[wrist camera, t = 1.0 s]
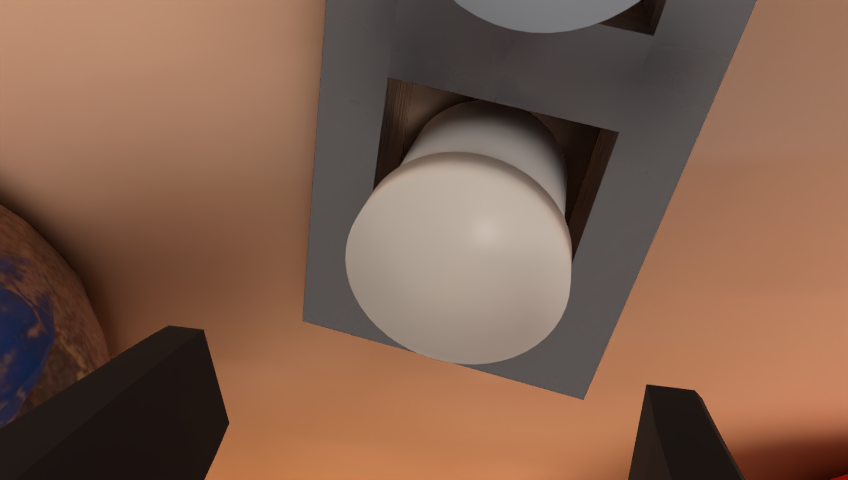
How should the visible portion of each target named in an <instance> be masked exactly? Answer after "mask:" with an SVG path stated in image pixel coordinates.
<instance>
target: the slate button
mask: <svg viewBox="0 0 848 480" xmlns="http://www.w3.org/2000/svg"><path fill="white" fill-rule="evenodd" d="M454 1H455V2H456V3H458V4H459V5H460V6H461V7H463V8H464V9H466V10H468V11H469V12H471V13H472V14H474V15H476V16H477V17H480V18H482V19H484V20H486V21H488V22H491V23H493V24H495V25H499V26H502V27H505V28H509V29H512V30H518V31H525V32H531V33H554V32H564V31H571V30H575V29H579V28H584V27H588V26H591V25H594V24H596V23H599V22H602V21H604V20H607V19H609V18H611V17H613V16H615V15H617V14H619V13H621V12H623V11H625V10H627V9H628V8H630V7H631V6H633V5H634V4H636V3H637V2H639V1H640V0H454Z"/></svg>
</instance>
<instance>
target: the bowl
mask: <svg viewBox="0 0 848 480" xmlns="http://www.w3.org/2000/svg"><path fill="white" fill-rule="evenodd" d="M109 361H110V356H109V352H108V347H107V343H106V340H105V337H104V333H103V330H102V327H101V325H100V323H99V321H98V319H97V317H96V315H95V313H94V311H93V309H92V307H91V305H90V302H89V299H88V297H87V294H86V291H85V289H84V286H83V283H82V280H81V278H80V277H79V276H78V275H77V274H76V273H75V271H74V270H73V269H72V268H71V267H70V266H69V264H68V263H67V262H66V261H65V260H64V259H63V257H62V256H61V255H60V254H59V253H58V252H57V250H56V249H55V248H54V247H53V246H51V245H50V244H49V243H48V242H47V241H46V240H45V239H44V238H43V237H42V236H41V235H40V234H39V233H38V232H37V231H36V230H35V229H33V228H32V227H31V226H30V225H29V224H28V223H27V222H26V221H25V220H24V219H22V218H21V217H19V216H17V215H16V214H14V213H13V212H11V211H10V210H8V209H7V208H5V207H4V206H2V205H1V204H0V428H2V427H3V426H5V425H7V424H8V423H10V422H12V421H14V420H15V419H17V418H19V417H20V416H22V415H24V414H26V413H27V412H29V411H30V410H32V409H34V408H35V407H37V406H38V405H40V404H42V403H43V402H45V401H46V400H48V399H50V398H51V397H53V396H55V395H56V394H58V393H59V392H61V391H63V390H64V389H66V388H67V387H69V386H71V385H72V384H74V383H75V382H77V381H79V380H80V379H82V378H83V377H85V376H87V375H88V374H90V373H91V372H93V371H94V370H96V369H98V368H99V367H101V366H102V365H104V364H106V363H107V362H109Z"/></svg>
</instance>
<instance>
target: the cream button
mask: <svg viewBox="0 0 848 480" xmlns="http://www.w3.org/2000/svg"><path fill="white" fill-rule="evenodd" d="M567 180H568V175H567V165H566V160H565V156H564V154H563V151H562V148H561V146H560V144H559V143H558V141H557V139H556V138H555V136H554V135H553V133H552V132H551V131H550V130H549V129H548V127H547V126H546V125H545V124H544V123H543V122H541V121H540V120H539V119H538V118H536V117H535V116H534V115H532V114H531V113H529V112H527V111H526V110H524V109H520V108H516V107H511V106H507V105H503V104H499V103H495V102H491V101H486V100H477V101H469V102H464V103H460V104H457V105H455V106H452V107H450V108H448V109H446V110H444V111H442V112H440V113H439V114H438V115H436V116H435V117H433V118H432V119H431V120H430V121H429V122H428V123H427V124H426V125H425V126H424V128H423V129H422V130H421V132H420V133H419V135H418V136H417V138H416V140H415V141H414V143H413V145H412V147H411V148H410V150H409V152H408V153H407V155H406V157H405V158H404V160H403V162H402V163H401V165H400V167H398V168H397V169H395V170H394V171H392V172H391V173H390V174H388V175H387V176H386V177H385V178H384V179H383V180H382V181H381V182H380V183H379V185H378V186H377V187H376V188H375V190H374V191H373V192H372V194H371V196H370V197H369V199H368V200H367V202H366V204H365V205H364V207H363V208H362V210H361V211H360V213H359V215H358V216H357V218H356V220H355V222H354V223H353V225H352V228H351V230H350V233H349V236H348V240H347V245H346V257H345V262H346V271H347V276H348V280H349V283H350V286H351V289H352V291H353V294H354V296H355V298H356V299H357V301H358V303H359V305H360V307H361V308H362V309H363V311H364V312H365V313H366V315H367V316H368V317H369V318H370V320H371V321H372V322H373V323H374V324H375V325H376V326H377V327H378V328H379V329H380V330H382V331H383V332H384V333H385V334H386V335H387V336H389V337H390V338H392V339H393V340H394V341H396V342H397V343H399V344H401V345H402V346H404V347H406V348H408V349H409V350H412V351H414V352H416V353H418V354H421V355H423V356H426V357H429V358H432V359H436V360H440V361H444V362H449V363H457V364H488V363H493V362H499V361H503V360H506V359H510V358H513V357H515V356H518V355H520V354H522V353H524V352H526V351H528V350H530V349H531V348H533V347H535V346H536V345H537V344H539V343H540V342H541V341H542V340H544V339H545V338H546V337H547V336H548V335H549V334H550V333H551V331H552V330H553V329H554V328H555V326H556V325H557V324H558V322H559V321H560V319H561V317H562V315H563V313H564V311H565V308H566V305H567V302H568V298H569V293H570V284H571V265H572V244H571V238H570V233H569V229H568V226H567V223H566V221H565V205H566V192H567Z"/></svg>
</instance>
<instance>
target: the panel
mask: <svg viewBox="0 0 848 480" xmlns="http://www.w3.org/2000/svg"><path fill="white" fill-rule="evenodd" d="M756 1H757V0H644V3H641V2H637V3H636V4H634V5H633V6H631V7H630V8H628V9H627V10H625V11H623V12H621V13H619V14H617V15H615V16H613V17H611V18H609V19H607V20H604V21H602V22H599V23H596V24H594V25H591V26H588V27H584V28H579V29H575V30H571V31H564V32H554V33H531V32H525V31H518V30H512V29H509V28H505V27H502V26H499V25H495V24H493V23H491V22H488V21H486V20H484V19H482V18H480V17H477V16H476V15H474V14H472V13H471V12H469V11H468V10H466V9H464V8H463V7H461V6H460V5H459V4H458V3H456V2H455V1H454V0H326V11H325V25H324V38H323V52H322V65H321V78H320V92H319V105H318V119H317V132H316V146H315V159H314V173H313V186H312V200H311V213H310V227H309V240H308V254H307V267H306V281H305V294H304V308H303V321H305V322H308V323H312V324H315V325H319V326H322V327H326V328H330V329H333V330H337V331H340V332H344V333H347V334H351V335H354V336H358V337H362V338H365V339H369V340H372V341H376V342H379V343H383V344H387V345H390V346H394V347H397V348H401V349H404V350H408V351H411V352H414V351H412V350H409V349H408V348H406V347H404V346H402V345H401V344H399V343H397V342H396V341H394V340H393V339H392V338H390V337H389V336H387V335H386V334H385V333H384V332H383V331H382V330H380V329H379V328H378V327H377V326H376V325H375V324H374V323H373V322H372V321H371V320H370V318H369V317H368V316H367V315H366V313H365V312H364V311H363V309H362V308H361V307H360V305H359V303H358V301H357V299H356V298H355V296H354V294H353V291H352V289H351V286H350V283H349V280H348V276H347V271H346V262H345V257H346V245H347V240H348V236H349V233H350V230H351V228H352V225H353V223H354V222H355V220H356V218H357V216H358V215H359V213H360V211H361V210H362V208H363V207H364V205H365V204H366V202H367V200H368V199H369V197H370V196H371V194H372V192H373V191H374V190H375V188H376V187H377V186H378V185H379V183H380V182H381V181H382V180H383V179H384V178H385V177H386V176H387V175H388V174H390V173H391V172H392V171H394V170H395V169H397V168H398V167H400V161H401V155H402V149H403V142H404V136H405V130H406V123H407V117H408V111H409V104H410V98H411V92H412V85H413V83H415V84H419V85H423V86H428V87H432V88H436V89H440V90H444V91H449V92H453V93H457V94H461V95H465V96H470V97H474V98H478V99H482V100H486V101H491V102H495V103H499V104H503V105H507V106H511V107H516V108H520V109H524V110H528V111H532V112H537V113H541V114H545V115H549V116H553V117H558V118H562V119H566V120H570V121H574V122H579V123H583V124H587V125H591V126H595V127H600V128H601V130H600V133H599V136H598V139H597V142H596V145H595V147H594V150H593V153H592V156H591V159H590V162H589V165H588V168H587V171H586V174H585V177H584V180H583V183H582V186H581V189H580V192H579V195H578V197H577V200H576V203H575V206H574V209H573V212H572V215H571V218H570V221H569V224H568V229H569V233H570V238H571V244H572V265H571V284H570V293H569V298H568V302H567V305H566V308H565V311H564V313H563V315H562V317H561V319H560V321H559V322H558V324H557V325H556V326H555V328H554V329H553V330H552V331H551V333H550V334H549V335H548V336H547V337H546V338H545V339H544V340H542V341H541V342H540V343H539V344H537V345H536V346H535V347H533V348H531V349H530V350H528V351H526V352H524V353H522V354H520V355H518V356H515V357H513V358H510V359H506V360H503V361H499V362H493V363H488V364H458V365H461V366H465V367H468V368H472V369H476V370H479V371H483V372H486V373H490V374H493V375H497V376H501V377H504V378H508V379H511V380H515V381H518V382H522V383H525V384H529V385H533V386H536V387H540V388H543V389H547V390H550V391H554V392H558V393H561V394H565V395H568V396H572V397H575V398H579V399H582V400H584V397H585V395H586V393H587V391H588V388H589V386H590V384H591V381H592V379H593V377H594V374H595V372H596V370H597V367H598V365H599V363H600V361H601V358H602V356H603V354H604V351H605V349H606V347H607V344H608V342H609V340H610V338H611V335H612V333H613V331H614V328H615V326H616V324H617V321H618V319H619V317H620V314H621V312H622V310H623V308H624V305H625V303H626V301H627V298H628V296H629V294H630V291H631V289H632V287H633V284H634V282H635V280H636V278H637V275H638V273H639V271H640V268H641V266H642V264H643V261H644V259H645V257H646V255H647V252H648V250H649V248H650V245H651V243H652V241H653V238H654V236H655V234H656V231H657V229H658V227H659V225H660V222H661V220H662V218H663V215H664V213H665V211H666V208H667V206H668V204H669V202H670V199H671V197H672V195H673V192H674V190H675V188H676V185H677V183H678V181H679V178H680V176H681V174H682V172H683V169H684V167H685V165H686V162H687V160H688V158H689V155H690V153H691V151H692V148H693V146H694V144H695V142H696V139H697V137H698V135H699V132H700V130H701V128H702V125H703V123H704V121H705V119H706V116H707V114H708V112H709V109H710V107H711V105H712V102H713V100H714V98H715V95H716V93H717V91H718V89H719V86H720V84H721V82H722V79H723V77H724V75H725V72H726V70H727V68H728V66H729V63H730V61H731V59H732V56H733V54H734V52H735V49H736V47H737V45H738V42H739V40H740V38H741V36H742V33H743V31H744V29H745V26H746V24H747V22H748V19H749V17H750V15H751V12H752V10H753V8H754V6H755V3H756ZM415 353H416V352H415ZM454 364H457V363H454Z"/></svg>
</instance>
